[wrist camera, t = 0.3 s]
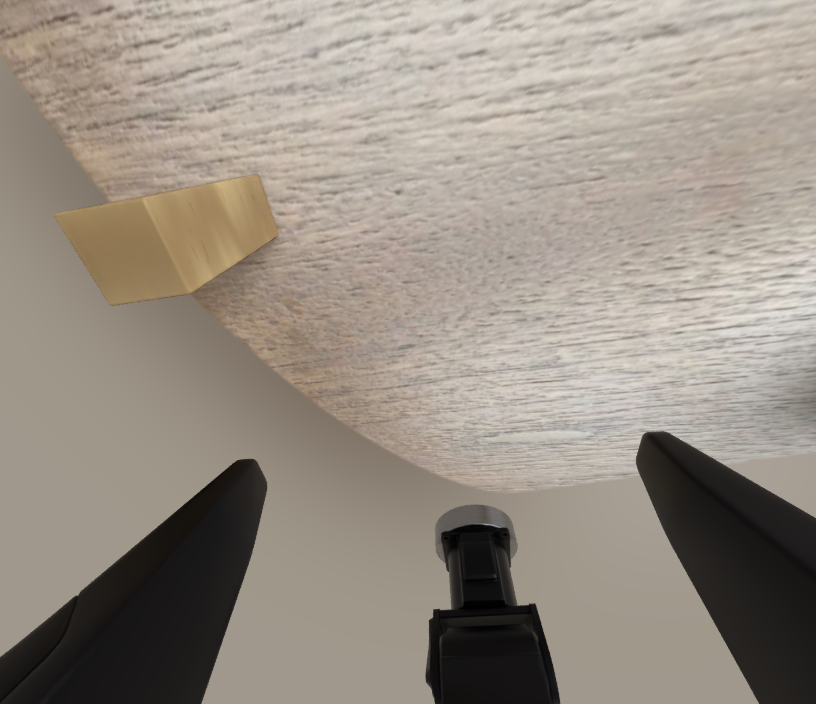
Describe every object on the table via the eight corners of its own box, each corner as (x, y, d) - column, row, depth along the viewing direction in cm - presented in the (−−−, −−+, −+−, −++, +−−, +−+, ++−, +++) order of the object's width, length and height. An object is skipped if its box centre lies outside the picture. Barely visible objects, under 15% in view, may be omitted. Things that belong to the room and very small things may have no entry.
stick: (279, 235, 18) (190, 294, 11) (227, 243, 18) (109, 306, 11) (259, 173, 16) (142, 197, 10) (203, 184, 17) (50, 214, 10)
